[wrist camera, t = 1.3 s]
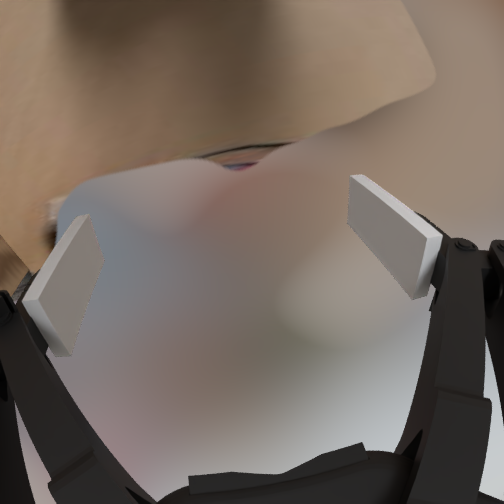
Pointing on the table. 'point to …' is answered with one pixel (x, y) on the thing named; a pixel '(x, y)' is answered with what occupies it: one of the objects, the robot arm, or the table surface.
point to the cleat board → (10, 268)
